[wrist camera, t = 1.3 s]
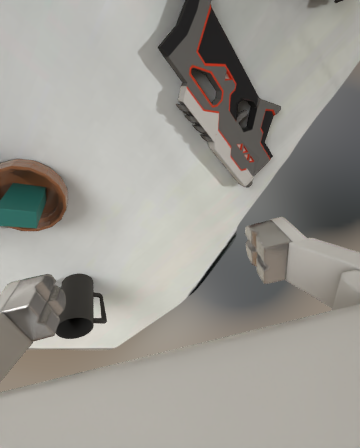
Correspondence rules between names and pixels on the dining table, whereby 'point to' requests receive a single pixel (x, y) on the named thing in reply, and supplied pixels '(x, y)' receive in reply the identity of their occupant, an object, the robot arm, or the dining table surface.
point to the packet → (22, 205)
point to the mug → (78, 307)
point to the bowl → (38, 176)
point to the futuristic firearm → (218, 91)
